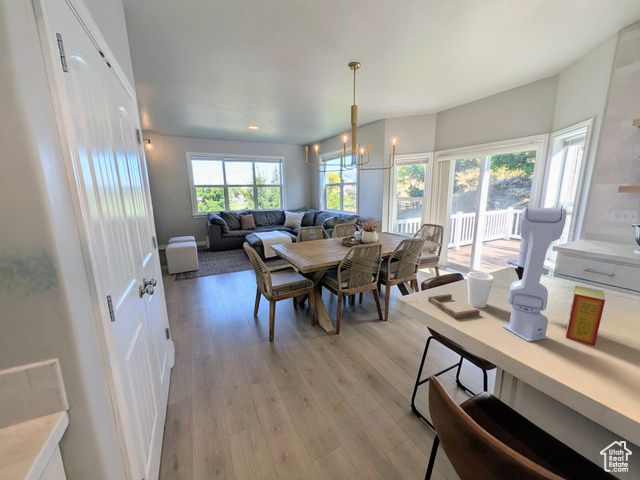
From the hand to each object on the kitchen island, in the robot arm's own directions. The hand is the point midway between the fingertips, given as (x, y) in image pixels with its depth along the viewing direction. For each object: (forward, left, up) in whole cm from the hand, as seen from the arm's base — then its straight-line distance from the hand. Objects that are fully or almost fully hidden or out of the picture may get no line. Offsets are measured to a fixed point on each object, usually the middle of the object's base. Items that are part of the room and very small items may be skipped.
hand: (523, 286), depth 100 cm
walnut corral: (+9, +24, -10) cm, 27 cm away
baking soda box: (-19, -2, -11) cm, 22 cm away
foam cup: (+9, +12, -11) cm, 18 cm away
